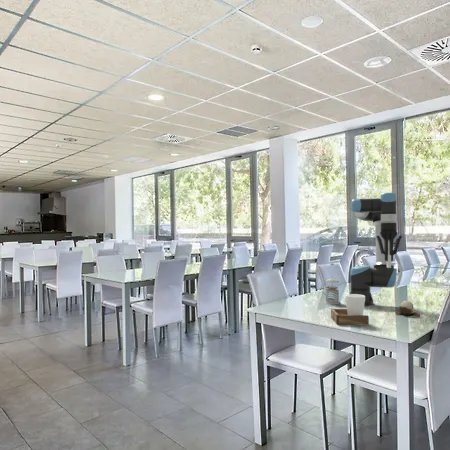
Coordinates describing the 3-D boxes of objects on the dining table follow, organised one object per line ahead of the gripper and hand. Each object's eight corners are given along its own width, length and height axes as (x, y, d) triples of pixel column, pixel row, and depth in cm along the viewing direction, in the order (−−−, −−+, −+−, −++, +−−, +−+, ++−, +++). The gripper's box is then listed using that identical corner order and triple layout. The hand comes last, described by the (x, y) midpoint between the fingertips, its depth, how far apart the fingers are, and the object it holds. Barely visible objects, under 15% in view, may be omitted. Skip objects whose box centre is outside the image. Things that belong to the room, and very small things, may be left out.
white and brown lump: (397, 309, 221) (410, 297, 217) (411, 323, 216) (425, 311, 211) (389, 311, 212) (403, 299, 208) (404, 327, 207) (418, 314, 203)
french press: (341, 304, 241) (340, 263, 241) (321, 303, 243) (321, 263, 244) (339, 301, 251) (339, 262, 251) (321, 300, 253) (320, 262, 253)
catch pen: (331, 317, 206) (331, 308, 206) (360, 317, 204) (360, 309, 204) (336, 324, 190) (336, 315, 190) (368, 325, 188) (368, 315, 188)
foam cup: (359, 319, 201) (359, 293, 202) (369, 323, 192) (368, 296, 192) (342, 319, 200) (342, 294, 200) (351, 324, 191) (350, 297, 191)
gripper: (377, 222, 201) (378, 268, 201) (404, 222, 200) (404, 268, 200) (373, 222, 209) (374, 266, 209) (399, 222, 208) (399, 266, 207)
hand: (388, 267), depth 204 cm, fingers closed
